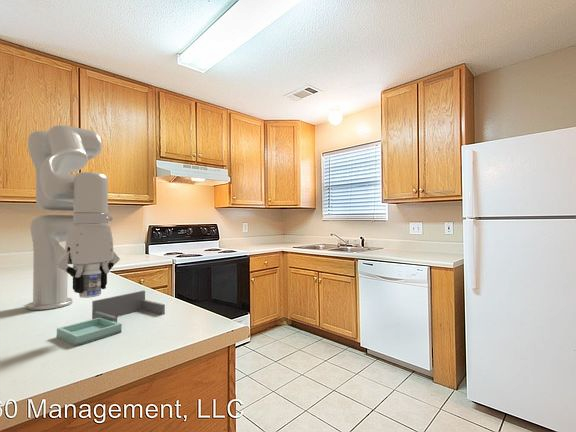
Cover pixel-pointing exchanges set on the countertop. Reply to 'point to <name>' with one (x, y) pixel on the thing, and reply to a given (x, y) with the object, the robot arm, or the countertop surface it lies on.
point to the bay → (124, 306)
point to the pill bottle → (91, 281)
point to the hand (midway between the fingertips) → (90, 289)
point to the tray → (88, 331)
